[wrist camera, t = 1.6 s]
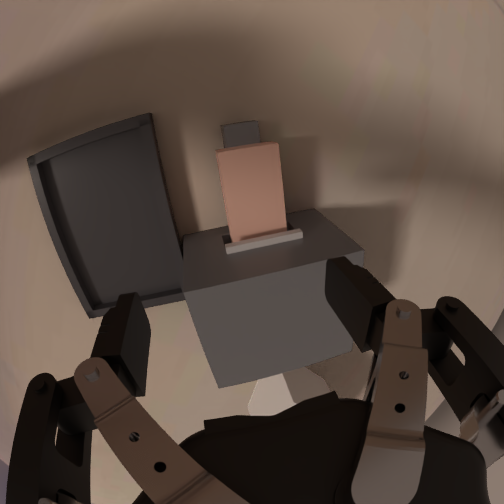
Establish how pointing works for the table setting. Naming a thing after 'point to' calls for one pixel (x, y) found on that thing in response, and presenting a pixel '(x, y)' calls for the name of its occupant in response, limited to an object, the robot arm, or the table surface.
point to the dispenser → (265, 291)
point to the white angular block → (285, 391)
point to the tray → (111, 215)
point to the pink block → (252, 190)
